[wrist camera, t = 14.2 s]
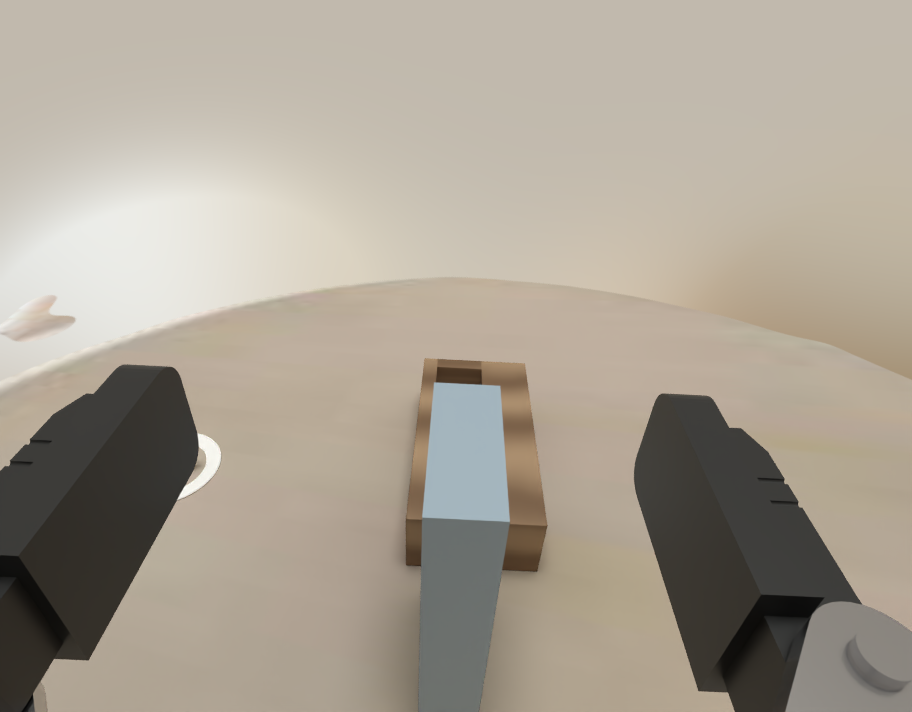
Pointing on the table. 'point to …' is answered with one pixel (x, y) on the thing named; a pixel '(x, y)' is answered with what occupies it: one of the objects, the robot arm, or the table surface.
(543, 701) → the table surface
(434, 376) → the slot box
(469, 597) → the cover panel
